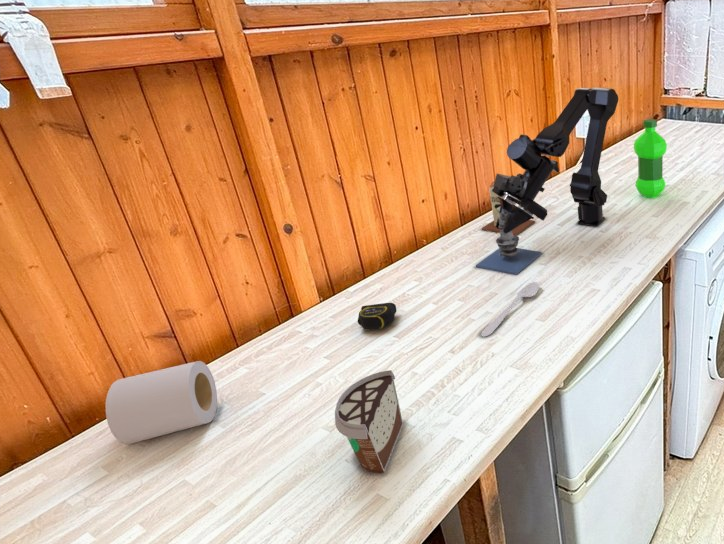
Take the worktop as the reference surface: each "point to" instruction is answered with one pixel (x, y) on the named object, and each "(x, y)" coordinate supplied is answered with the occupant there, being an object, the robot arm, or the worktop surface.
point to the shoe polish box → (494, 203)
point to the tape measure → (376, 316)
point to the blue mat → (509, 261)
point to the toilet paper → (161, 402)
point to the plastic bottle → (650, 160)
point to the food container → (371, 419)
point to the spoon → (525, 292)
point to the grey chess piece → (506, 237)
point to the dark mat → (515, 231)
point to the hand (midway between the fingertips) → (500, 230)
